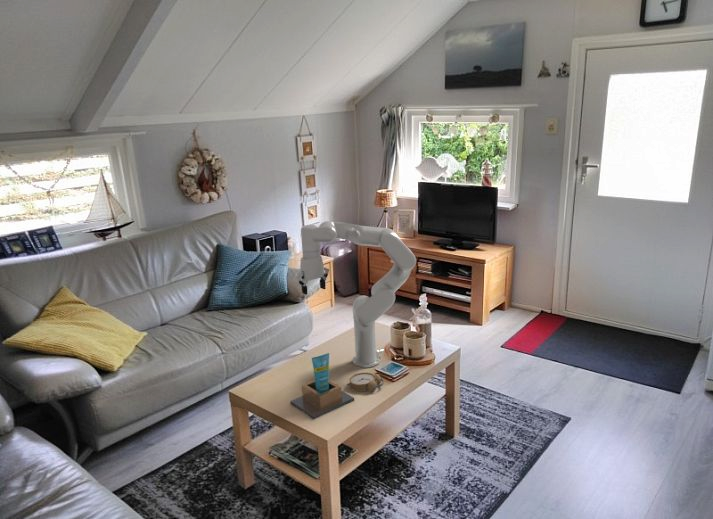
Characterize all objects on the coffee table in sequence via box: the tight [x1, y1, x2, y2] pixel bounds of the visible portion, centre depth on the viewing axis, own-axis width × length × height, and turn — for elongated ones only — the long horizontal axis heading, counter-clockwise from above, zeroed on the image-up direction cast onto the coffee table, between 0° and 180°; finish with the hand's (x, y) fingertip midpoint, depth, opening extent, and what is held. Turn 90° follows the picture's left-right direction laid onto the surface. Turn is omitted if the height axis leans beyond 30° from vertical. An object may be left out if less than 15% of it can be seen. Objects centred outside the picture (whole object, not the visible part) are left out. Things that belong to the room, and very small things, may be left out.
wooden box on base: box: [290, 379, 355, 420], centre depth 221 cm, size 20×16×7 cm
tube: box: [311, 352, 330, 394], centre depth 220 cm, size 7×5×19 cm, turn 123°
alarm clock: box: [346, 371, 385, 393], centre depth 233 cm, size 11×5×15 cm
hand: (314, 291), depth 243 cm, fingers open, 9 cm apart
